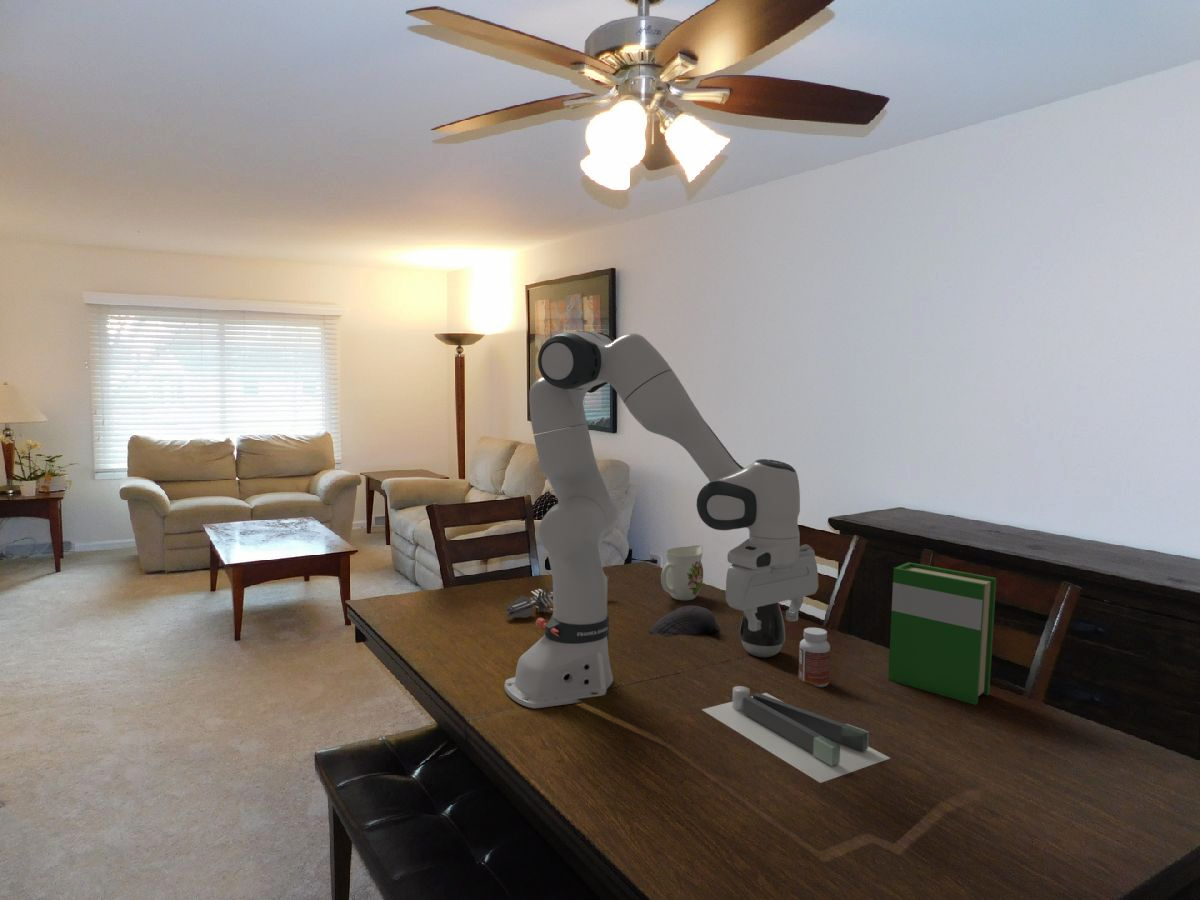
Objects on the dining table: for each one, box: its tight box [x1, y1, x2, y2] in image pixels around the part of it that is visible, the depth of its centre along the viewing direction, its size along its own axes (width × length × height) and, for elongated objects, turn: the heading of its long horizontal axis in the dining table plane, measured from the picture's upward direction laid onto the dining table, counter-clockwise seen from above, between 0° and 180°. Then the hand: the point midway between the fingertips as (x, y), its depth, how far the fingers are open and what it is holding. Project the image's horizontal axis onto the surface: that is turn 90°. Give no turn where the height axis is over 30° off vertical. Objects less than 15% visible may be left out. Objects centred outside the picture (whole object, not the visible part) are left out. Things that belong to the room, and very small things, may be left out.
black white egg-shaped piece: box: [739, 602, 786, 658], centre depth 178 cm, size 10×10×15 cm
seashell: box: [648, 605, 721, 637], centre depth 195 cm, size 14×19×8 cm
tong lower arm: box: [731, 685, 840, 766], centre depth 137 cm, size 26×4×4 cm, turn 30°
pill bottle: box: [798, 627, 831, 688], centre depth 162 cm, size 6×6×11 cm
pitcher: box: [660, 544, 704, 601], centre depth 222 cm, size 11×18×14 cm, turn 137°
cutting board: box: [701, 692, 891, 784], centre depth 138 cm, size 16×30×1 cm, turn 30°
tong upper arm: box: [752, 692, 870, 752], centre depth 138 cm, size 22×2×3 cm, turn 44°
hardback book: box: [887, 561, 997, 706], centre depth 160 cm, size 18×7×24 cm, turn 46°
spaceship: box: [505, 574, 610, 619], centre depth 211 cm, size 8×35×8 cm
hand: (773, 625), depth 141 cm, fingers open, 8 cm apart
